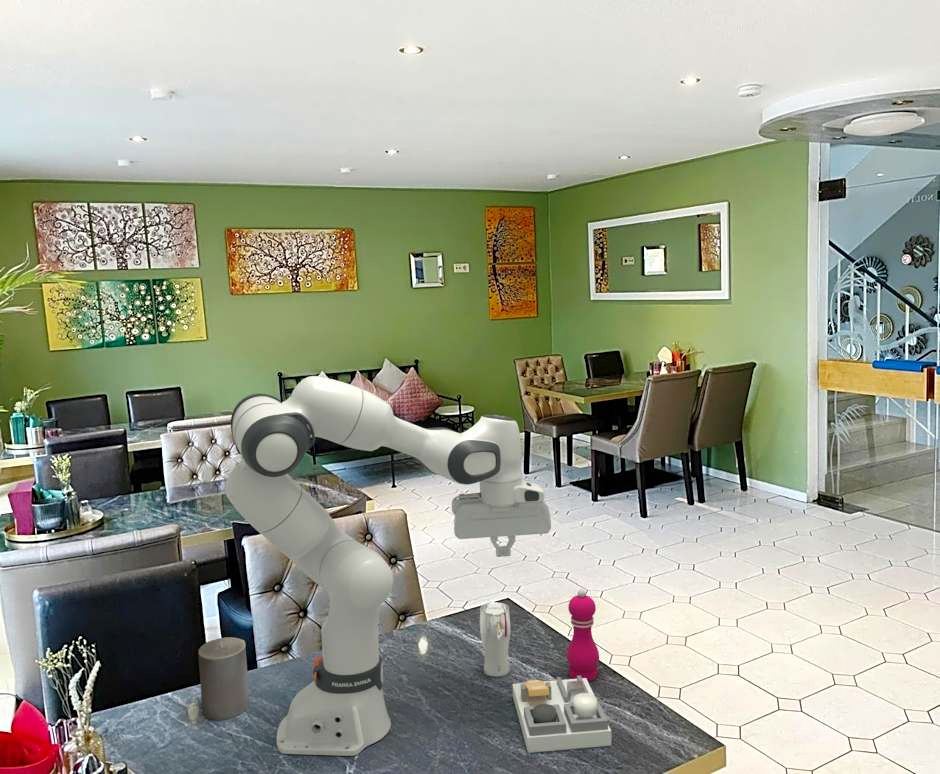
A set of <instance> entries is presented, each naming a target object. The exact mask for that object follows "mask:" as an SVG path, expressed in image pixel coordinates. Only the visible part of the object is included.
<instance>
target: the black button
mask: <svg viewBox="0 0 940 774" xmlns="http://www.w3.org/2000/svg"><path fill="white" fill-rule="evenodd" d="M533 722H534V724H538V723H549V722H556V709H555V707H553V706H552V705H549V704H539V705H537V706H535V707H534V708H533Z"/></svg>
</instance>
